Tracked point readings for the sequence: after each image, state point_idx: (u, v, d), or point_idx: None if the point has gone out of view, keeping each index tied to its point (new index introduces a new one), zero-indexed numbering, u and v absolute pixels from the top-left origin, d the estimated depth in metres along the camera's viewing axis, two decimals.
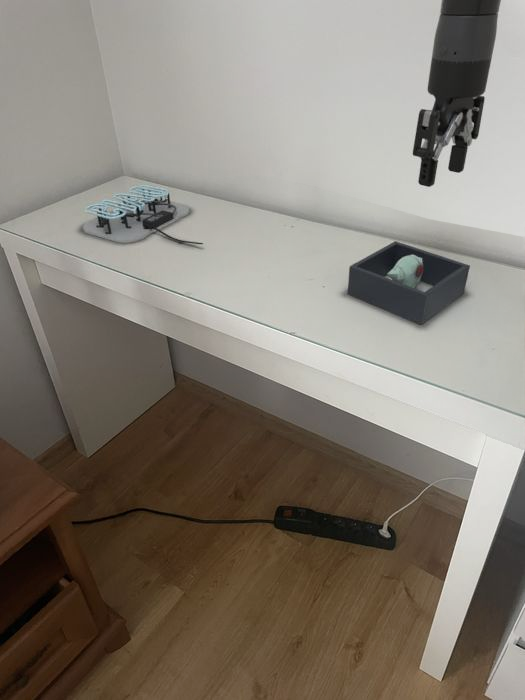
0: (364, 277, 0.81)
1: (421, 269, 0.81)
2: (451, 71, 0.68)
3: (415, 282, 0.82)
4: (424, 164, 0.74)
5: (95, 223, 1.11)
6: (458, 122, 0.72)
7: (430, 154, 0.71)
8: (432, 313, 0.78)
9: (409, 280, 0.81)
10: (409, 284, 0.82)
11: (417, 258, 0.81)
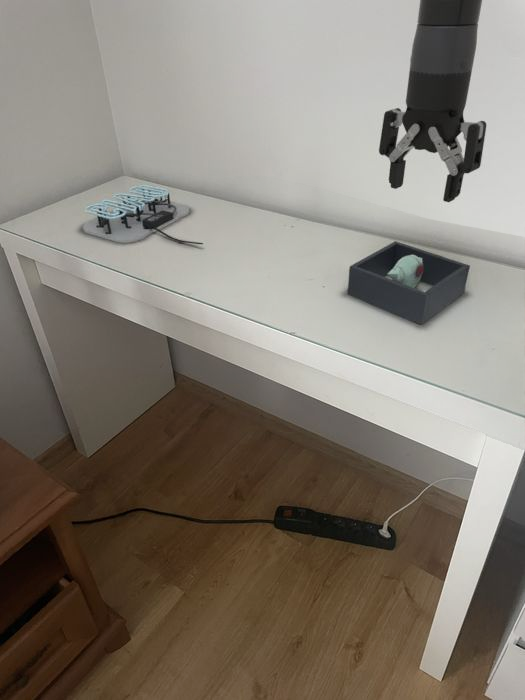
0: (364, 277, 0.81)
1: (421, 269, 0.81)
2: (468, 81, 0.65)
3: (415, 282, 0.82)
4: None
5: (95, 223, 1.11)
6: None
7: None
8: (432, 313, 0.78)
9: (409, 280, 0.81)
10: (409, 284, 0.82)
11: (417, 258, 0.81)
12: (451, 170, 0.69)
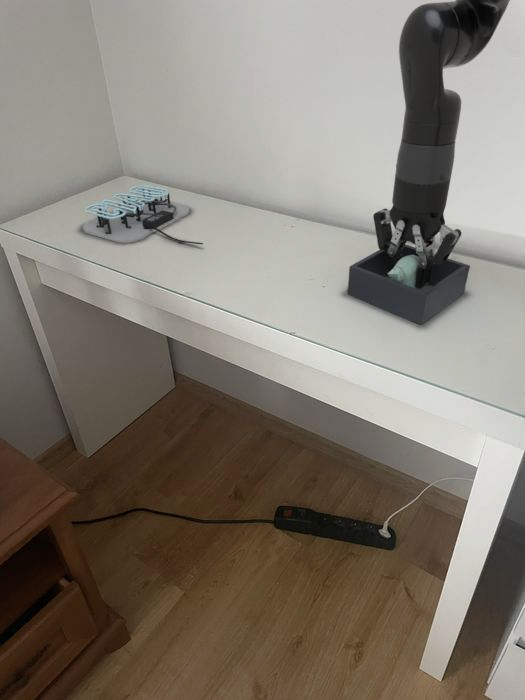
0: (364, 277, 0.81)
1: None
2: (448, 188, 0.73)
3: (415, 282, 0.82)
4: (427, 271, 0.80)
5: (95, 223, 1.11)
6: None
7: None
8: (432, 313, 0.78)
9: (409, 280, 0.81)
10: (409, 284, 0.82)
11: (417, 258, 0.81)
12: (421, 263, 0.79)
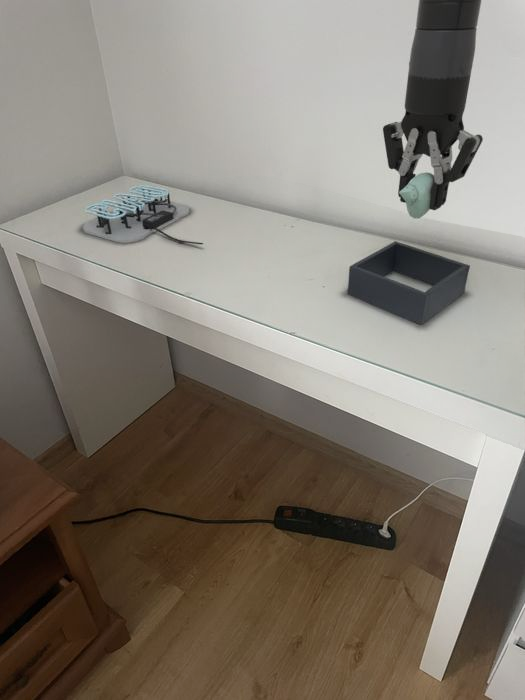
0: (364, 277, 0.81)
1: None
2: (467, 85, 0.65)
3: (429, 203, 0.74)
4: None
5: (95, 223, 1.11)
6: None
7: None
8: (432, 313, 0.78)
9: (423, 200, 0.73)
10: (423, 205, 0.74)
11: (432, 175, 0.73)
12: (437, 178, 0.71)
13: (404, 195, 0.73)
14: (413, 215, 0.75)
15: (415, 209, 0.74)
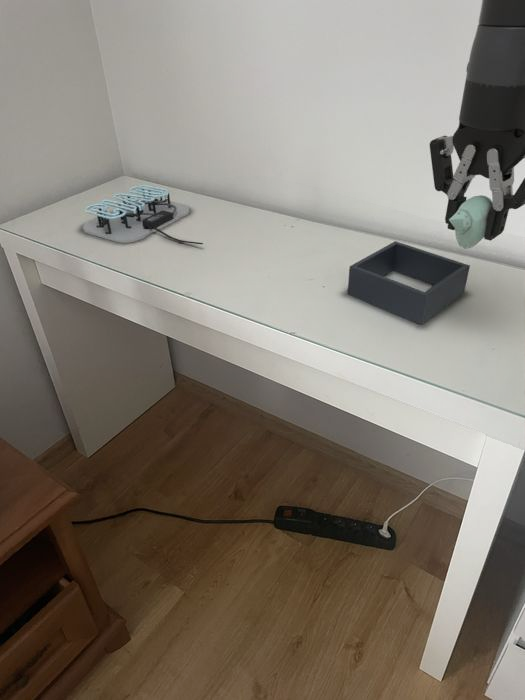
0: (364, 277, 0.81)
1: None
2: None
3: (484, 232, 0.62)
4: None
5: (95, 223, 1.11)
6: None
7: None
8: (432, 313, 0.78)
9: (477, 228, 0.62)
10: (476, 234, 0.62)
11: (488, 199, 0.61)
12: (496, 204, 0.59)
13: (455, 223, 0.61)
14: (463, 245, 0.64)
15: (467, 238, 0.63)
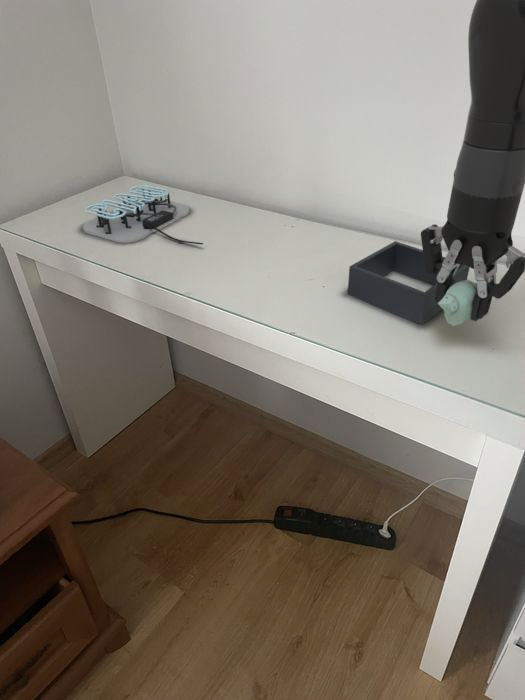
0: (364, 277, 0.81)
1: None
2: (519, 202, 0.59)
3: (470, 313, 0.68)
4: None
5: (95, 223, 1.11)
6: None
7: None
8: (432, 313, 0.78)
9: (464, 311, 0.67)
10: (463, 315, 0.68)
11: (474, 285, 0.67)
12: (481, 292, 0.65)
13: (444, 306, 0.67)
14: (452, 323, 0.70)
15: (455, 318, 0.69)
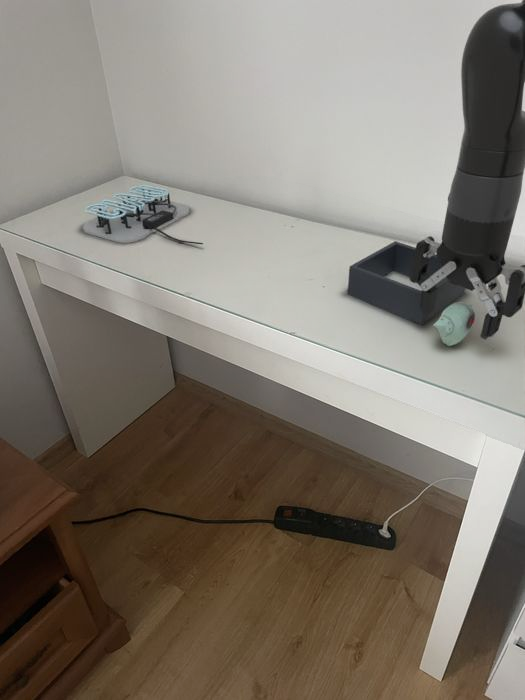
0: (364, 277, 0.81)
1: (473, 319, 0.69)
2: (511, 226, 0.61)
3: (465, 334, 0.70)
4: None
5: (95, 223, 1.11)
6: None
7: None
8: (432, 313, 0.78)
9: (458, 332, 0.69)
10: (458, 336, 0.70)
11: (468, 307, 0.69)
12: (491, 311, 0.65)
13: (439, 328, 0.69)
14: (447, 343, 0.72)
15: (450, 339, 0.71)
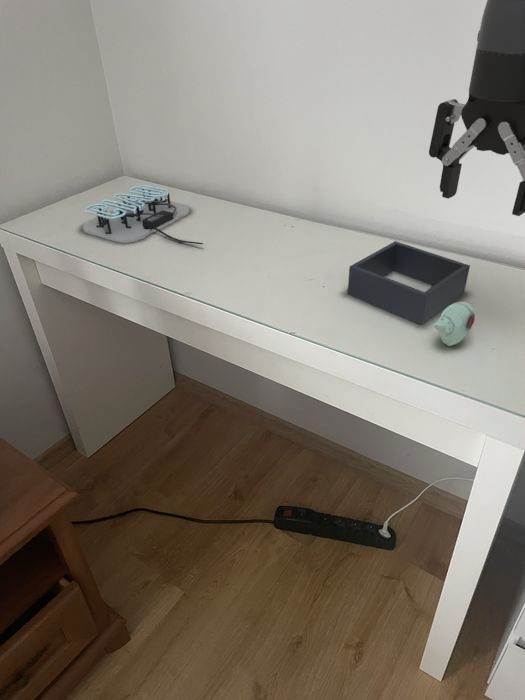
0: (364, 277, 0.81)
1: (473, 319, 0.69)
2: None
3: (465, 334, 0.70)
4: None
5: (95, 223, 1.11)
6: None
7: None
8: (432, 313, 0.78)
9: (458, 332, 0.69)
10: (458, 336, 0.70)
11: (468, 307, 0.69)
12: None
13: (439, 328, 0.69)
14: (447, 343, 0.72)
15: (450, 339, 0.71)
